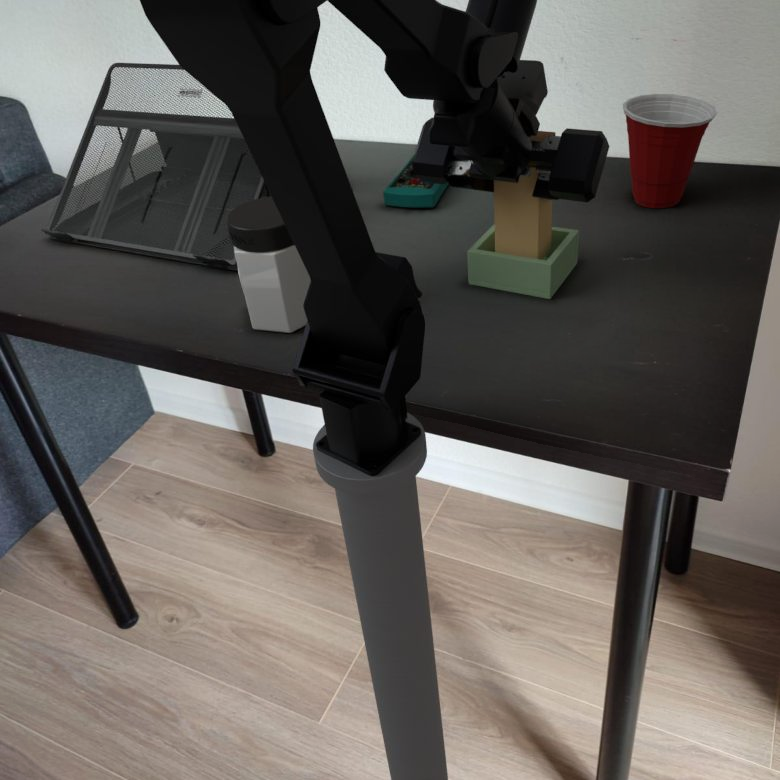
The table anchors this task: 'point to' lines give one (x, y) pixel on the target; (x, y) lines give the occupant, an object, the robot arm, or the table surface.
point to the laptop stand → (160, 175)
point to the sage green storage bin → (523, 265)
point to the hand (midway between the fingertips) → (528, 192)
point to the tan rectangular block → (522, 216)
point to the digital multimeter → (412, 190)
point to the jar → (268, 267)
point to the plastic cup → (664, 144)
